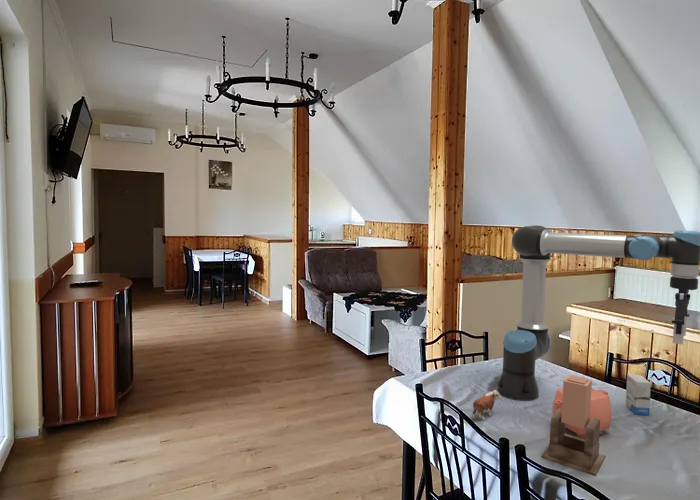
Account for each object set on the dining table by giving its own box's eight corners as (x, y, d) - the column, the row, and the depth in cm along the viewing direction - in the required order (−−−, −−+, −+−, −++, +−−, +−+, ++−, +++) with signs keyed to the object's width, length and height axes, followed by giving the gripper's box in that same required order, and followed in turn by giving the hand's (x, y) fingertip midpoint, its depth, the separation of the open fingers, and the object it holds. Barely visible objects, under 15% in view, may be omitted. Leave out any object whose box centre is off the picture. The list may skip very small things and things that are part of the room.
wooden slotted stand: (541, 457, 130) (543, 418, 129) (553, 441, 139) (555, 405, 139) (595, 475, 121) (598, 434, 120) (605, 457, 131) (607, 418, 130)
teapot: (570, 444, 138) (572, 399, 137) (538, 426, 149) (540, 384, 148) (621, 432, 146) (624, 389, 145) (587, 416, 158) (589, 376, 157)
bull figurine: (502, 413, 159) (503, 390, 158) (478, 423, 151) (479, 399, 150) (492, 409, 162) (493, 386, 161) (467, 418, 154) (468, 395, 153)
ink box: (649, 415, 158) (652, 383, 157) (634, 414, 159) (636, 381, 158) (639, 405, 167) (641, 374, 166) (624, 404, 168) (626, 373, 167)
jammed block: (561, 422, 129) (563, 379, 128) (566, 415, 134) (569, 373, 133) (584, 428, 125) (587, 384, 124) (589, 421, 130) (592, 378, 129)
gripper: (696, 282, 140) (691, 349, 142) (699, 274, 159) (694, 334, 161) (667, 279, 145) (662, 345, 146) (673, 272, 164) (669, 330, 166)
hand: (679, 339), depth 154 cm, fingers open, 13 cm apart
